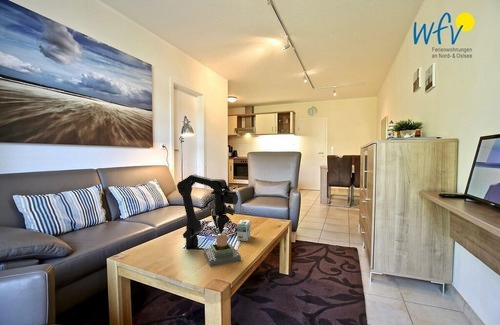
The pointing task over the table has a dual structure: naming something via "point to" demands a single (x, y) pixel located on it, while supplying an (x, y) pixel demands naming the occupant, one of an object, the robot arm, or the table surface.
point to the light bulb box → (243, 230)
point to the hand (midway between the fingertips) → (219, 230)
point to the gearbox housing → (221, 255)
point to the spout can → (222, 241)
